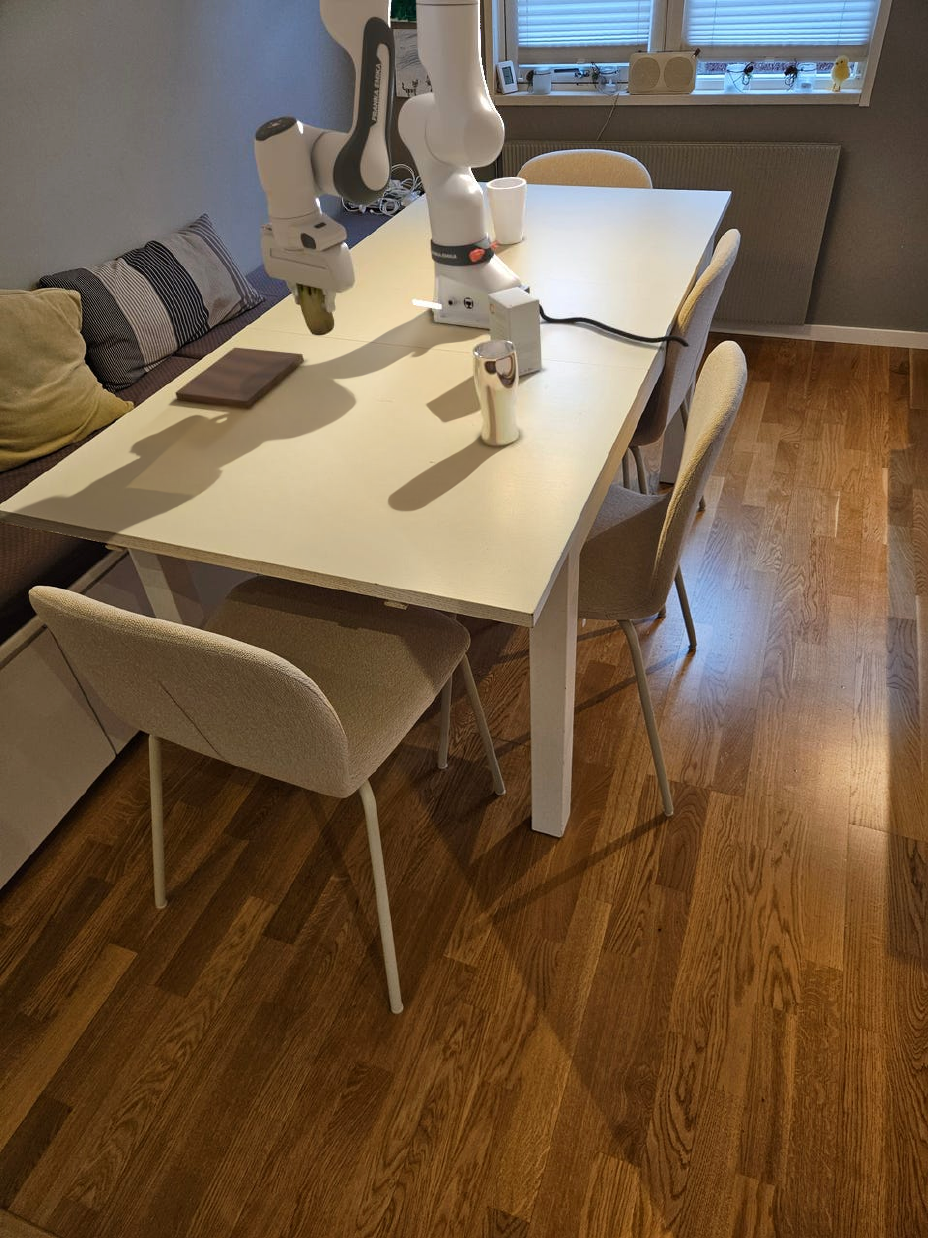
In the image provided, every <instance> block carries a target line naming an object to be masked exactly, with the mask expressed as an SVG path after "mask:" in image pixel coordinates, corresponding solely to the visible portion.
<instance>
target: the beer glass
mask: <svg viewBox="0 0 928 1238" xmlns="http://www.w3.org/2000/svg"><path fill="white" fill-rule="evenodd" d="M472 374H473V382H474V383H473V384H474V388H475V394H476V397H477V401H478V405H479V408H480V411H481V419H482V427H481V434H480V435H481V440H482V441H483V442H484V443H485V444H487V445H490V446H507V445H511V444H512V443H514V442H515V441H517V440H518V439H519V435H520V432H519V428H518V425H517V419H516V407H517V399H518V390H519V377H518V363H517V356H516V347H515V345H514V344H513V343H511V342H509V341H505V340H491V339H490V340H486V341H483V342H480V343H478V344H476V345H475V346H474V347H473V349H472Z"/></svg>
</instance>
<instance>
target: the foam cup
mask: <svg viewBox="0 0 928 1238" xmlns="http://www.w3.org/2000/svg"><path fill="white" fill-rule="evenodd" d="M485 186H486V196H487V198H488V204H489V207H490V214H491V219H492V220H491V221H492V224H493V229H494V235H495V242H496V241H498V243H497V244H500V245H513V244H517V243H520V242H521V241H522V240H523V236H524V235H523V234H524V223H525V222H524V220H525V208H526V207H525V206H526V197H527V196H526V195H527V189H528V188H527V180H526V179H525V178H521V177H515V176H514V177H510V176H509V177H502V178H501V177H500V178H495V179H493V180H491V181H488V182H487V183H486V184H485Z"/></svg>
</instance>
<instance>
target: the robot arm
mask: <svg viewBox="0 0 928 1238" xmlns="http://www.w3.org/2000/svg"><path fill="white" fill-rule="evenodd" d="M391 2H392V0H319V15H320V18H321V20H322V23H323V26H324V27H325V29H326V31H327V32H328V34H329V35H330V36H331V38H332V39H333V40H334V41H335V42H336V43H337V44H339V46H341V47H342V48H343V49H344V50H346V52H347V53H348V54H349V56H350V57H351V60H352V61H353V64H354V69H355V85H354V87H355V88H354V101H353V116H352V126H351V128H350V130H349V132H341V131H338V130H332V129H325V128H321V127H316V126H312V125H309V124H306V123H303V122H301V121H300V120H299V119H297V118H296V117H294V116H288V115H287V116H279V117H277V118H273V119H270V120H268V121H266V122H264V123H263V124H262V125H260V126H259V128H258V129H257V130H256V132H255V134H254V139H253V141H254V142H253V146H254V148H253V149H254V157H255V162H256V163H255V164H256V168H257V173H258V177H259V182H260V187H261V189H262V191H263V193H264V195H265V198H266V201H267V215H268V218H269V221H267V222H264V223H263V224H262V226H261V228H260V236H261V239H260V249H261V256H262V261H263V267H264V270H265V272H266V273H267V275H268V277H270V278H274V279H278V280H282V281H285V284H286V286H287V288H288V290H289V291H290V293H291V294H292V296H293V299H294V302H295V304H296V305H298V306H300V303H299V298H298V292H297V286H296V283H299V284H303V285H307V286H311V287H315V288H320V289H322V291H323V294H324V295H325V301H323V302H322V307H323V311H325V312H329V313H331V312H332V313H333V312H335V311H336V309H337V308H336V303H335V300H336V296H337V294H342V293H345V292H347V291H349V290H350V289H352V288H353V287H354V285H355V283H356V276H355V269H354V264H353V260H352V256H351V251H350V249H349V247H348V245H347V244H346V243H345V241H344V240H346V239H347V237H348V236H347V235H348V234H347V231H346V227H344V226H343V225H342V224H341V223H339V222H337V221H336V220H334V219H332V218H331V217H330V216H329V215H327V214H326V212H323V211H322V208H321V203H320V197H322V196H323V195H329V196H333V197H337V198H342V199H344V200H347V201H348V202H352V203H354V204H356V205H360V206H369V205H371V204H374V203H375V202H377V201H378V200H379V199H381V198H382V196H383V195H384V194H385V192H386V190H387V189H388V187H389V184H390V182H391V178H392V172H393V171H392V170H393V169H392V168H393V166H392V165H393V164H392V163H393V162H392V153H391V152H392V150H391V125H392V112H393V101H394V99H393V98H394V88H395V87H394V85H395V73H396V72H395V71H396V42H395V41H396V40H395V37H394V33H393V31H392V28H391V18H390V16H391V13H390V12H391ZM415 3H416V4H415V8H416V12H415V13H416V38H417V39H416V40H417V42H416V43H417V55H418V59H419V62H420V64H421V65H422V67H423V68H424V69H425V71H426V73H427V76H428V80H429V82H430V85H431V89H432V92H426V93H420V94H418V95H414V96H412V97H409V98H408V99H407V100H406V101H405V102H404V103H403V105H402V107H401V109H400V111H399V114H398V118H397V130H398V134H399V137H400V139H401V141H402V143H403V144H404V145H405V147H406V148H407V150H408V151H409V152H410V155H411V157H412V159H413V162H414V164H415V166H416V169H417V173H418V175H419V178H420V181H421V184H422V187H423V191H424V194H425V198H426V202H427V208H428V218H429V224H430V225H429V226H430V232H431V239H430V241H429V242H430V243H429V244H430V253H431V254H430V255H431V260H432V261H433V266H434V267H433V268H434V269H433V270H434V271H433V272H434V276H433V278H434V279H433V280H434V281H433V283H434V284H433V298H432V299H433V301H432V302H429V301H423V300H417V299H412V303H413V305H416V306H421V307H428V308H431V310H432V313H433V317H434V318H433V321H434V322H436V323H441V324H448V325H455V326H456V325H457V326H464V327H471V328H480V329H488V330H490V321H489V306H488V295H489V294H492V293H496V292H500V291H504V290H508V289H511V288H515V287H519V288H520V289H522V290H524V291H525V292H527V293H529V294H530V295H531V289H530V287H531V286H529V285H523V284H522V281H521V279H520V278H519V276H517V274H516V273H515V272H513V271H512V270H511V269H510V268H509V267H508V266H507V265H506V264H505V263H504V262H503V261H502V260H501V259H500V258H499V257H497V256H496V255H495V254H496V252H495V251H496V250H495V248H498V247H499V245H498V244H499V243H498V241H496V240H495V241H493V242H492V241H491V238H490V236H489V234H488V232H487V225H486V207H485V195H484V193H483V190H482V188H481V187H480V185H479V184H478V182H477V181H476V179H475V177H474V175H473V173H472V170H471V168H472V169H473V168H482V167H487V166H489V165H490V164H492V163H494V162H495V161H496V159H497V158H498V157H499V155H500V154H501V152H502V149H503V146H504V142H505V125H504V122H503V119H502V118H501V116H500V114H499V113H498V111H497V110H496V108H495V106H494V104H493V102H492V100H491V97H490V95H489V90H488V87H487V83H486V80H485V75H484V69H483V65H482V57H481V29H480V27H481V26H480V25H481V23H480V21H481V20H480V19H481V18H480V17H481V15H480V3H481V2H480V0H415ZM539 309H540V318H541V319H542V320H544V321H545V322H548V323H552V324H553V323H554V324H555V323H556V324H564V323H565V324H569V323H571V324H572V323H583V324H587V325H588V324H589V325H592V326H595V327H597V328H600V329H601V330H603V331H606V332H608V333H611V334H615V335H617V336H621V337H624V338H627V339H629V340H634V341H636V342H637V341H638V342H641V343H648V344H658V343H664V342H676V343H678V344H680V345H681V346H682V347H684V348H689V347H690V345H689V343H688V342H687V341H686V339H684V338H682V337H680V336H678V335H665V336H659V337H648V336H642V335H637V334H634V333H632V332H631V333H630V332H627V331H624V330H621V329H618V328H615V327H613V326H610V325H607V324H605V323H603V322H601V321H598V320H595V319H592V318H588V317H582V316H575V317H567V318H553V317H550V316H548V315H546V313H545V311H544V308H543V306H542V305H541V304H540V303H539Z"/></svg>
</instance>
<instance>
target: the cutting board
mask: <svg viewBox="0 0 928 1238" xmlns="http://www.w3.org/2000/svg"><path fill="white" fill-rule="evenodd" d="M304 362H305V361H304V356H303V353H295V352H287V351H286V352H284V351H275V350H265V349H255V348H244V347H233V348H232V349H231V350H229V351H228V352H227V353H226V354H223V356H221V357H220V358H219V359H217V360H216V361H215V362H213V363H212V364H210V365H209V366H208V367H207V368H206V369H205V370H203V371H202V372H201V373H199V374H198V375H196V376H195V377H194V378H192V379H191V380H190V381H189V382H187V383H186V384H185V385H183V386H182V387H180V388H179V389H178V390H176V391H175V392H174V393H175V397H176V399H177V401H185V402H192V403H193V402H194V403H201V404H207V405H208V404H209V405H216V406H225V407H232V408H239V409H248V410H249V409H250V408H251V407H252V406H254V405H255V404H256V403H257V402H258V401H260V399H261V398H263V397H264V396H265V395H266V394H268V393H269V392H270V391H271V390H272V389H273V388H275V387H276V386H277V385H278V384H279V383H280V382H281V381H282V380H284V379H285V378H286V377H288V375H289V374H291V373H292V372H293V371H294V370H295V369H296V368H298V367H299V366H300V365H301V364H302V363H304Z"/></svg>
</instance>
